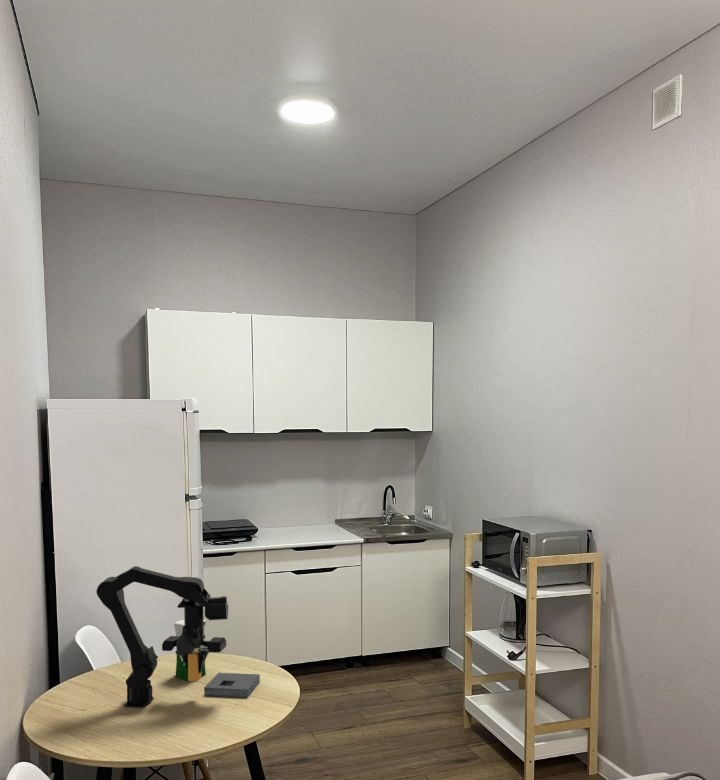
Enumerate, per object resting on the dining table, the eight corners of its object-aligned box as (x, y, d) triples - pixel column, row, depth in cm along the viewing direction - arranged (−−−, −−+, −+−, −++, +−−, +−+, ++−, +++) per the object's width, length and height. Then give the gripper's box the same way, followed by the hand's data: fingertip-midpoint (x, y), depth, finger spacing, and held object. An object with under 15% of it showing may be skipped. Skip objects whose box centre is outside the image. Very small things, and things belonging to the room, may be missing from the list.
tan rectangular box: (188, 681, 204) (187, 654, 204) (192, 677, 207) (191, 650, 207) (197, 681, 203) (197, 654, 204) (201, 677, 206) (201, 651, 207)
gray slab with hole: (204, 695, 207) (204, 687, 207) (218, 680, 219) (218, 672, 219) (247, 697, 205) (247, 689, 205) (259, 682, 217) (259, 674, 217)
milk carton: (189, 682, 218) (188, 620, 218) (171, 677, 223) (170, 616, 224) (209, 674, 225) (208, 613, 226) (191, 668, 230) (191, 609, 231)
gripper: (153, 628, 199) (154, 681, 199) (213, 630, 196) (214, 684, 196) (169, 617, 210) (170, 667, 210) (226, 618, 207) (227, 669, 207)
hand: (194, 672), depth 205 cm, fingers closed on tan rectangular box, 3 cm apart
